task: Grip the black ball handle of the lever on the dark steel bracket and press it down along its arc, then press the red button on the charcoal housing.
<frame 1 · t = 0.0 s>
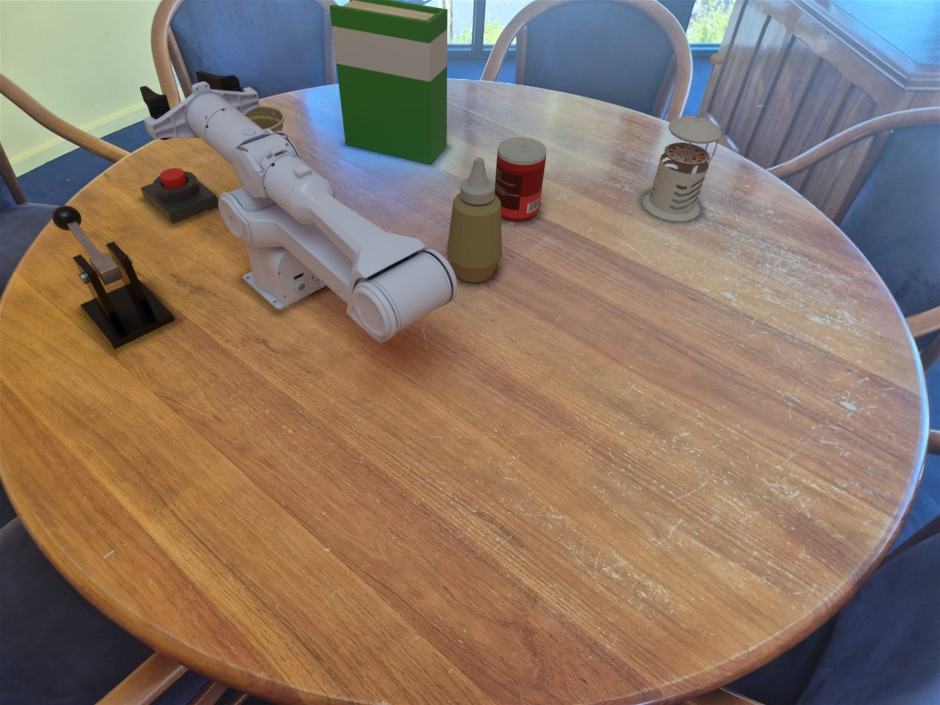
hand: (172, 86, 83), 22 cm above the table, tool horizontal, fingers open, 7 cm apart
french press: (674, 204, 107), on the table
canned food: (515, 210, 104), on the table
squeeze bottle: (473, 272, 92), on the table
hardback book: (396, 146, 118), on the table
lever: (85, 242, 78), point 9 cm above the table, hinge at 15.0°
flower pot: (266, 165, 112), on the table
button: (173, 178, 99), point 4 cm above the table, slide at 0.1 cm
button box: (182, 203, 102), on the table
bracket: (129, 316, 83), on the table
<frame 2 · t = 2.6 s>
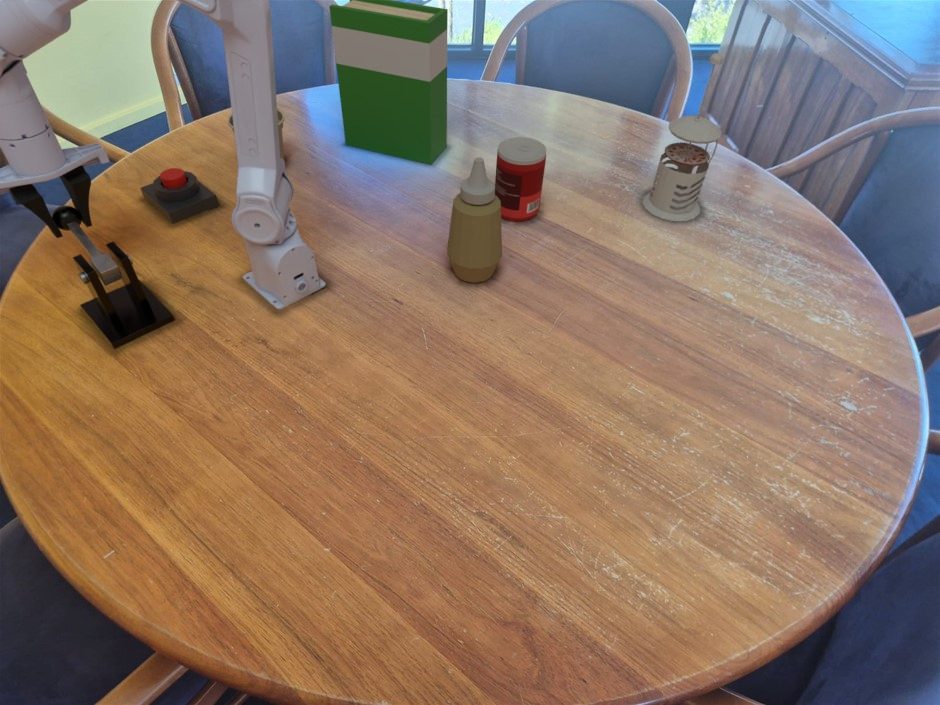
hand: (72, 228, 81), 9 cm above the table, tool pointing down, fingers closed on lever, 3 cm apart
lever: (85, 242, 78), point 9 cm above the table, hinge at 15.0°, touching gripper
everything else where it was.
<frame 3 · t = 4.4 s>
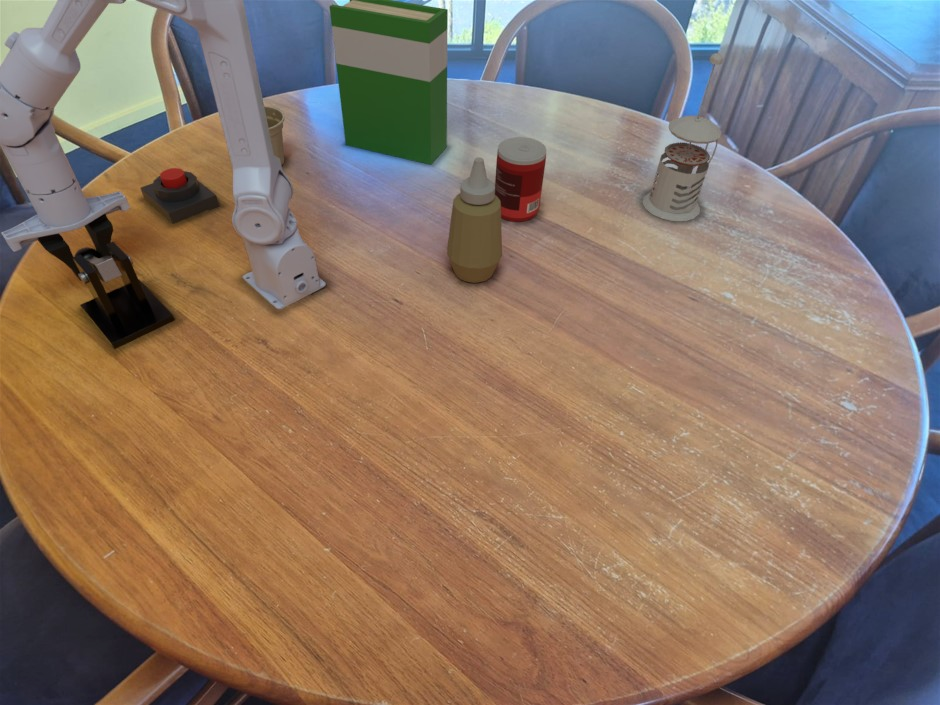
hand: (94, 271, 85), 2 cm above the table, tool pointing down, fingers closed on lever, 3 cm apart
lever: (96, 263, 81), point 6 cm above the table, hinge at -22.1°, touching gripper
everything else where it was.
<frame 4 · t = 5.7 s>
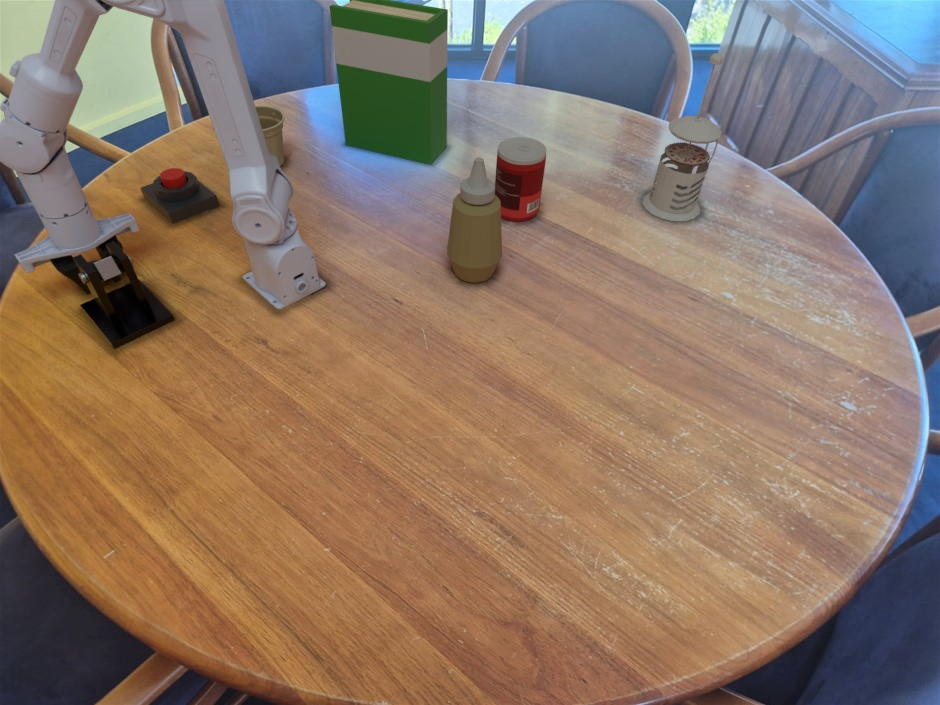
hand: (103, 289, 88), 0 cm above the table, tool pointing down, fingers closed on lever, 3 cm apart
lever: (100, 270, 81), point 5 cm above the table, hinge at -32.8°, touching gripper
everything else where it was.
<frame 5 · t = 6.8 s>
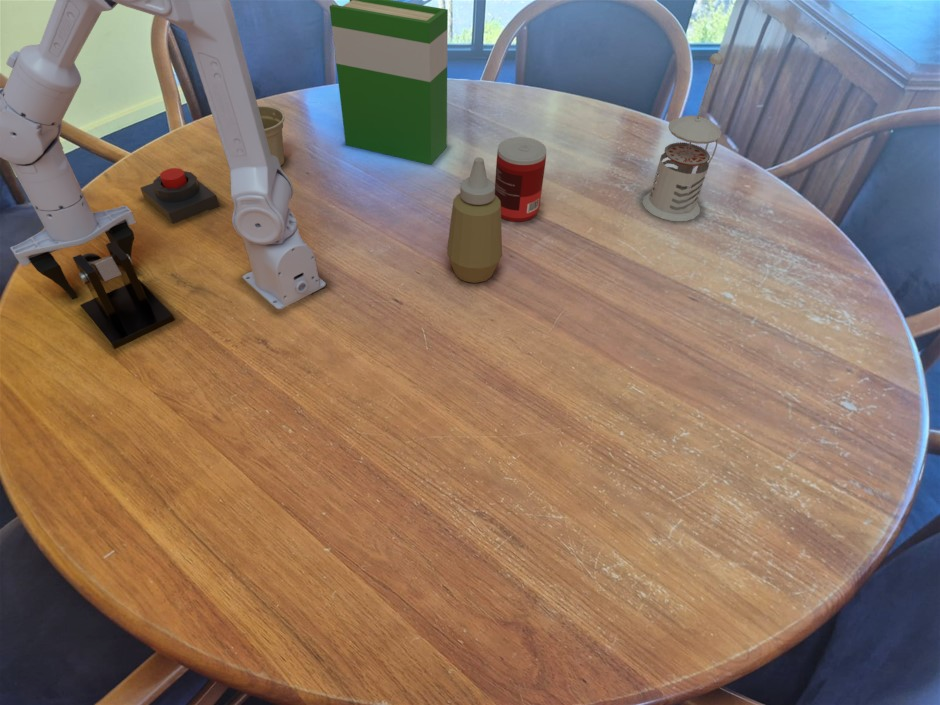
hand: (100, 283, 87), 0 cm above the table, tool pointing down, fingers open, 7 cm apart
lever: (98, 266, 81), point 6 cm above the table, hinge at -27.0°
everything else where it was.
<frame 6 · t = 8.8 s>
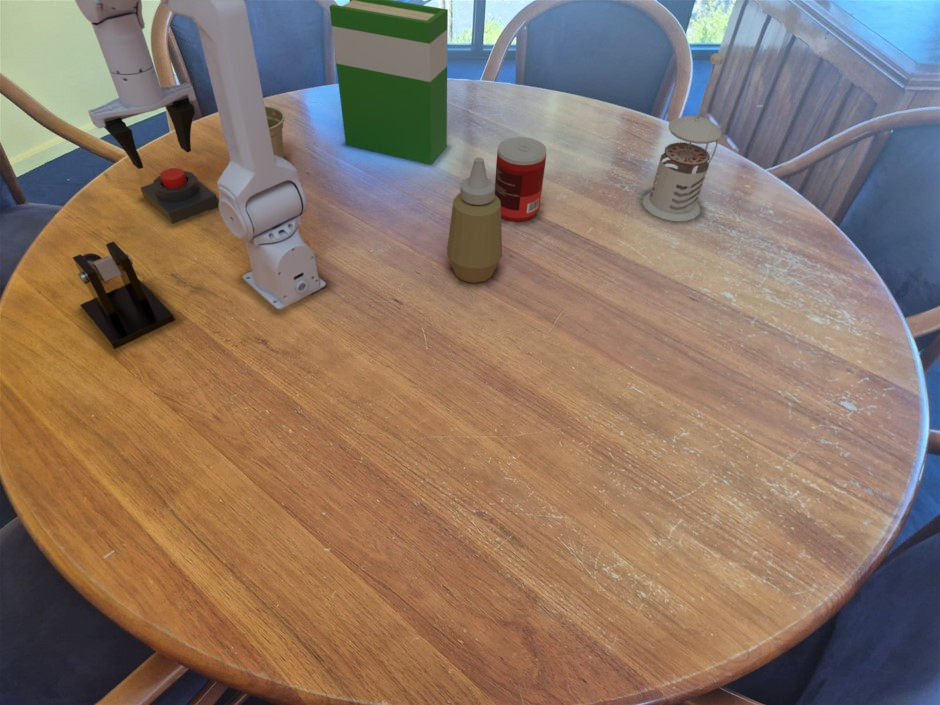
hand: (162, 157, 95), 8 cm above the table, tool pointing down, fingers open, 7 cm apart
nothing on the table moved.
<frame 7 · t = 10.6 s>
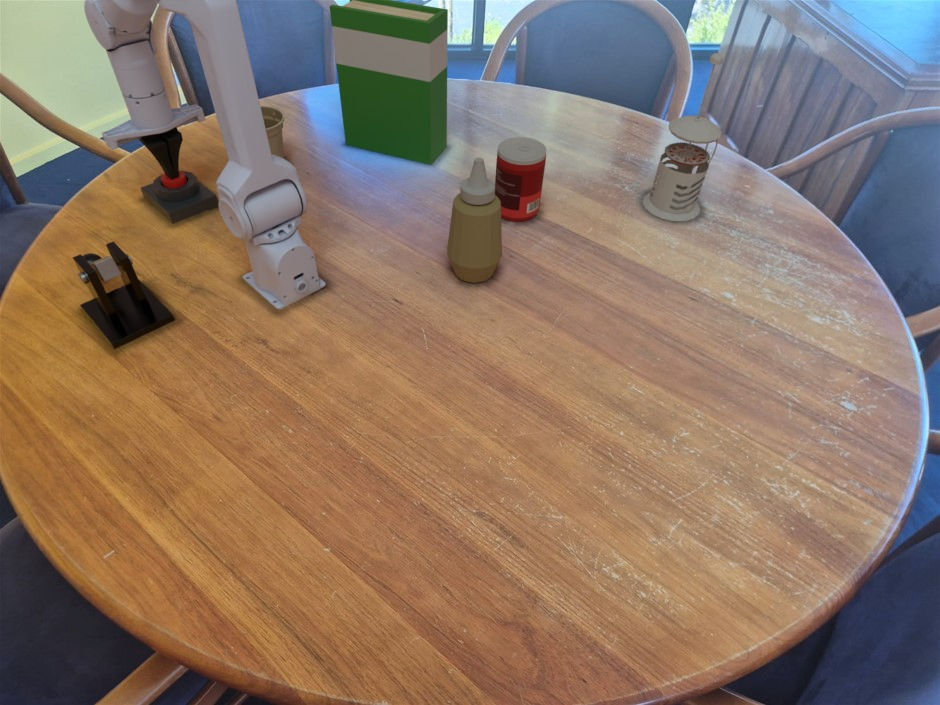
hand: (172, 175, 98), 5 cm above the table, tool pointing down, fingers closed, pressing on button
button: (174, 180, 99), point 4 cm above the table, slide at -0.3 cm, touching gripper
everything else where it was.
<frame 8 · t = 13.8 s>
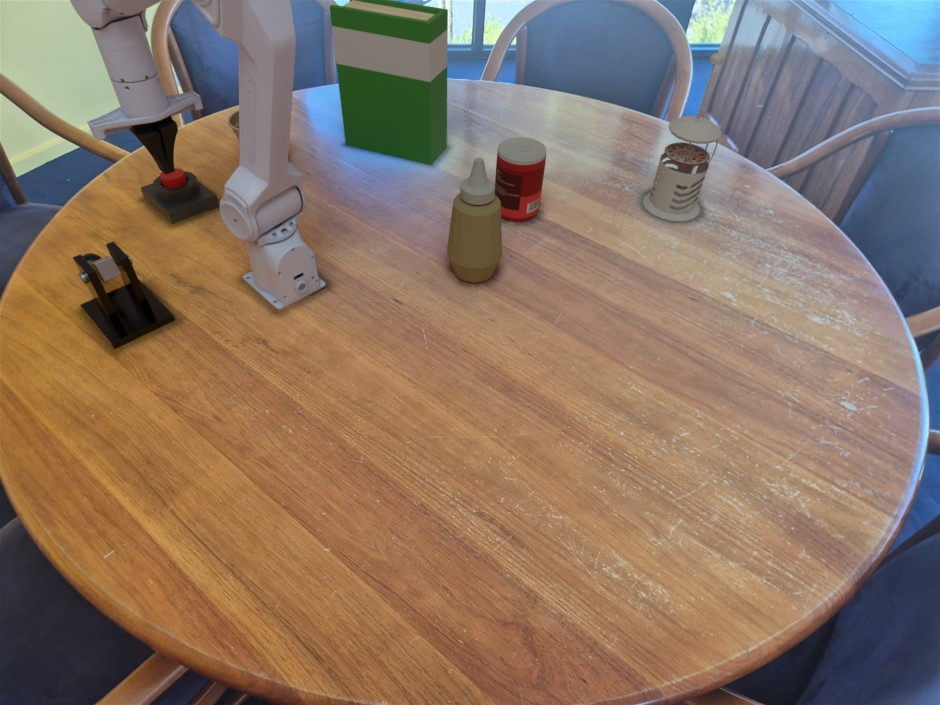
hand: (167, 170, 89), 10 cm above the table, tool pointing down, fingers closed
button: (173, 178, 99), point 4 cm above the table, slide at 0.1 cm
everything else where it was.
at the end: lever at -27° (first picture: +15°); button pushed in 1.2 cm at the most during the clip, back to where it started at the end; button slide at 0.1 cm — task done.
